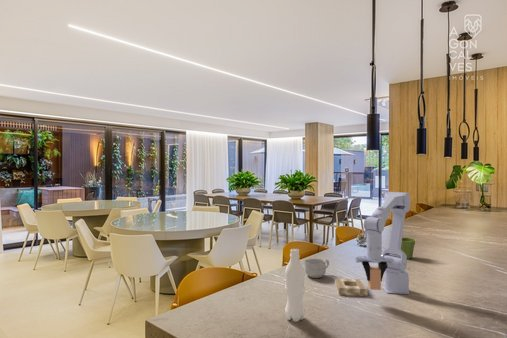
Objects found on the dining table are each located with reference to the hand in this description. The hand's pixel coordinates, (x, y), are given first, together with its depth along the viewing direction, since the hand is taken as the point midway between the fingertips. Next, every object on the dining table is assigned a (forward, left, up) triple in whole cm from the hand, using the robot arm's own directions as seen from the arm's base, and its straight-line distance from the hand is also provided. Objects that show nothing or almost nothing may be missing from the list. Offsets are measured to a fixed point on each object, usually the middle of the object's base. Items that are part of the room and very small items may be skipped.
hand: (374, 280), depth 129 cm
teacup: (+20, -31, -10) cm, 38 cm away
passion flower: (-18, -100, -10) cm, 102 cm away
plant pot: (-36, -71, -10) cm, 80 cm away
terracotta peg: (0, 0, -3) cm, 3 cm away
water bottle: (+32, +17, -9) cm, 37 cm away
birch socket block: (+7, -13, -9) cm, 17 cm away
